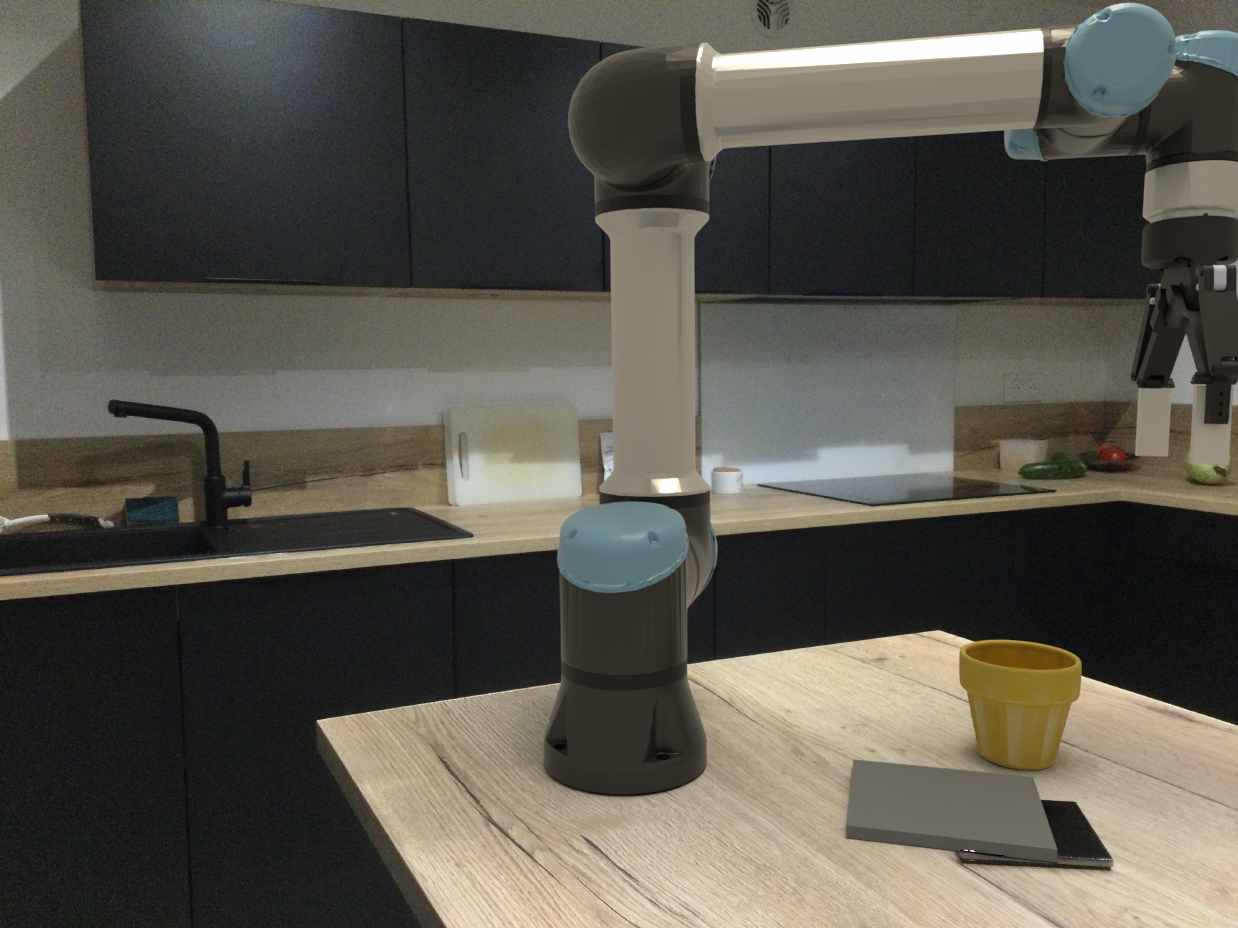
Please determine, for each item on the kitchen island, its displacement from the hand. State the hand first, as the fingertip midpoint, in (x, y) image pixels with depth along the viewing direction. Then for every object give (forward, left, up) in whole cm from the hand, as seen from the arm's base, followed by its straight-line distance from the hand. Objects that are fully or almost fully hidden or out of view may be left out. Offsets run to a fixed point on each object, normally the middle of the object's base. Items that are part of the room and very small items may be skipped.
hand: (1177, 460), depth 86 cm
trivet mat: (-20, -17, -28) cm, 38 cm away
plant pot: (-13, -3, -28) cm, 31 cm away
